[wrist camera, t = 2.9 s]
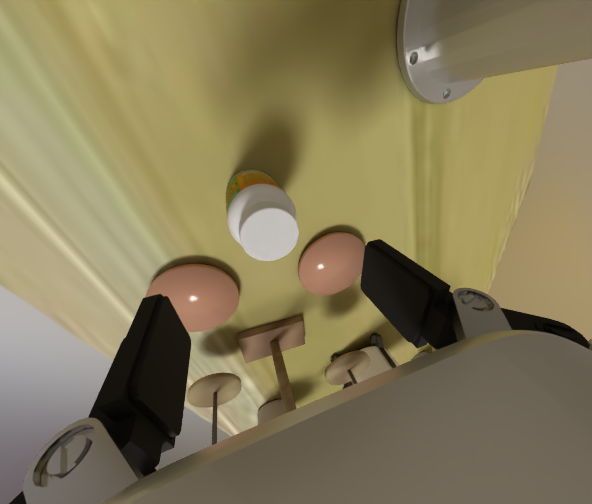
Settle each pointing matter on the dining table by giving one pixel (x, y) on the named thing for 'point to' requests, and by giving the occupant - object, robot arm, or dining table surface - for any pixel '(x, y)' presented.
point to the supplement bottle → (261, 215)
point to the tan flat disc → (198, 294)
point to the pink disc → (331, 263)
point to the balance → (273, 343)
